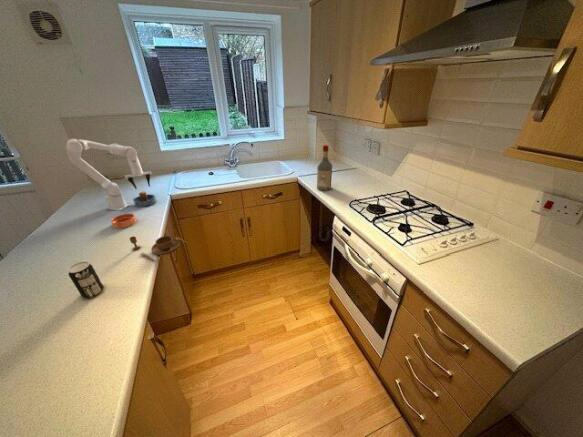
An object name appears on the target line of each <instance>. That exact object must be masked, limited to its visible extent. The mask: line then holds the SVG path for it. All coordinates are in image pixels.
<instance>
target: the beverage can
mask: <svg viewBox="0 0 583 437" xmlns="http://www.w3.org/2000/svg"><path fill="white" fill-rule="evenodd" d="M67 272H68V277H69V278H70V279H71V281H72V283H73V285H74V286H75V288H76V290H77V291H78V293H79V294H80V296H81V298H84V299H85V298H86V299H90V298H94V297H96V296H97V295H100V293H101V292H102V291H103V289H104V284H103V282H102V281H101V279H100V278H99V276H98V274H97V271H96V270H95V268H94V267H93V265H92V264H91V263H90V262H89V261H80V262H77V263H74V264H73V265H71V266H70V267H69V268H67Z"/></svg>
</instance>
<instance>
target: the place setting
mask: <svg viewBox="0 0 583 437" xmlns="http://www.w3.org/2000/svg"><path fill="white" fill-rule="evenodd" d="M137 240H138V239H137V237H136V236H134V235H133V236H130V237H129V241H130V243H131V244H132V245H133V246H134V247H133V249H132V250H133V251H138V250H140V249H141V246H139V245H138V244H137V242H138V241H137ZM181 241H182V242H183V243H185V244H188V242H187V241H185V240H184V239H182V238H181V237H180V236H175V238H173V237H172V236H171V235H164V236H161V237H158V238H157V239H156V240H155V243H154V244H153V245H152V246H151V249H150V251H151V252H152V254H154V255H155V256H165V255H166V256H167V255H169V254H172V253H174V252H175V251H177V250H178V249H179V247H180V245H181V243H180V242H181ZM140 256H142V257H144V258H145V257H146V258H147V259H149V260H150V261H152V262H155V259H153V258H151V257H150V256H148V255H147V254H146V253H144V252H141V253H140Z"/></svg>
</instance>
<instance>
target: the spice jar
mask: <svg viewBox="0 0 583 437" xmlns="http://www.w3.org/2000/svg"><path fill="white" fill-rule="evenodd" d="M147 195H148V194H147V192H146V191H143V190H142V191H140V192H139V193H138V197H139V196H140V198H141V201H142V202H143V201H147V200H148V197H147Z"/></svg>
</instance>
